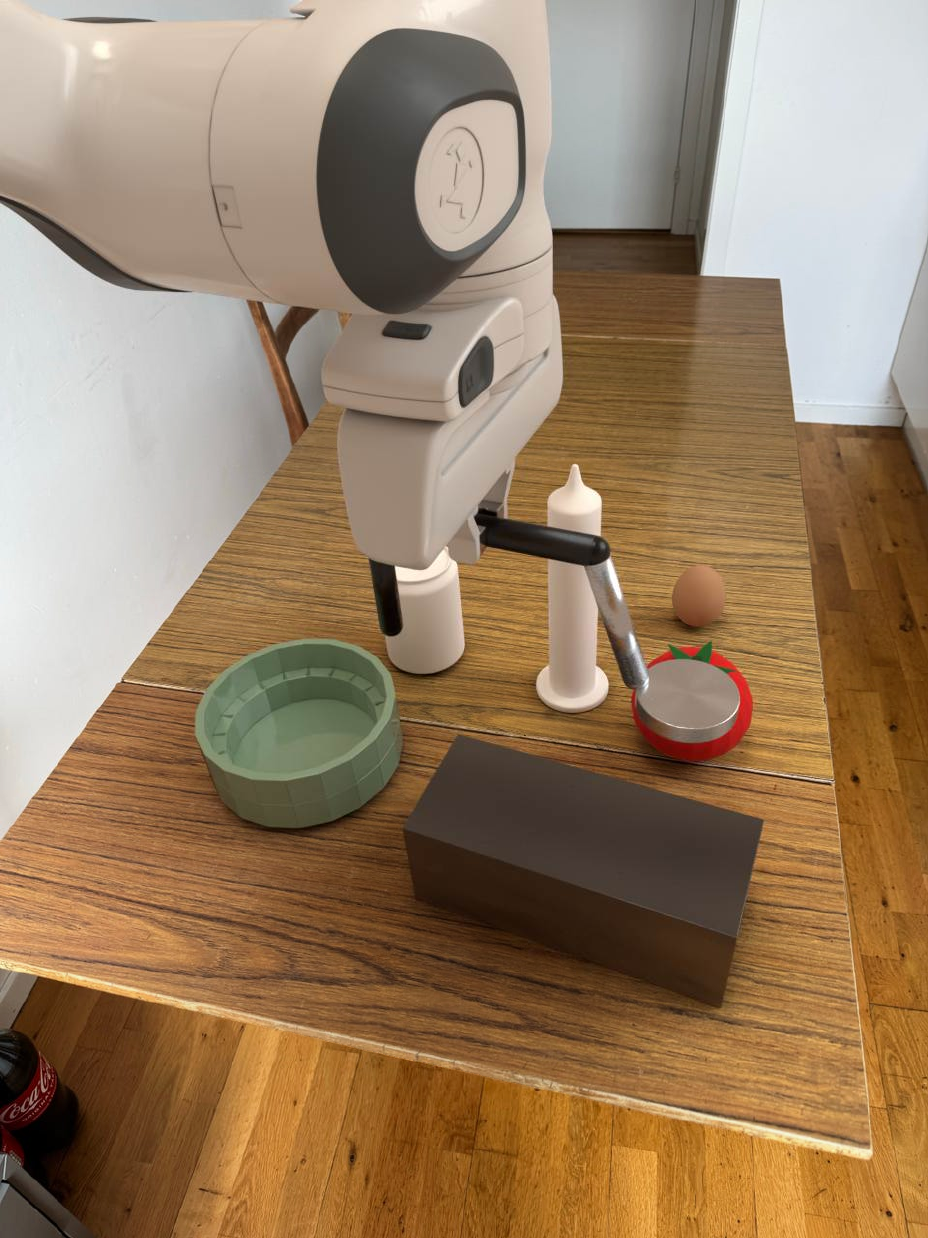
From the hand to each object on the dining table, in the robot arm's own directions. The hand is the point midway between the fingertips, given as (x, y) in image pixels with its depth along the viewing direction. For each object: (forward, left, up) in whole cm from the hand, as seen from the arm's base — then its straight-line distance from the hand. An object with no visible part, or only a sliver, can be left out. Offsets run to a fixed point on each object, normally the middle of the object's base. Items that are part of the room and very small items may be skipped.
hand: (479, 542), depth 52 cm
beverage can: (+22, +17, -32) cm, 42 cm away
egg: (+36, -8, -32) cm, 49 cm away
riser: (0, -7, -32) cm, 33 cm away
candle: (+22, +1, -32) cm, 39 cm away
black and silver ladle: (0, -4, -9) cm, 10 cm away
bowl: (+5, +21, -32) cm, 39 cm away
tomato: (+19, -11, -32) cm, 39 cm away
